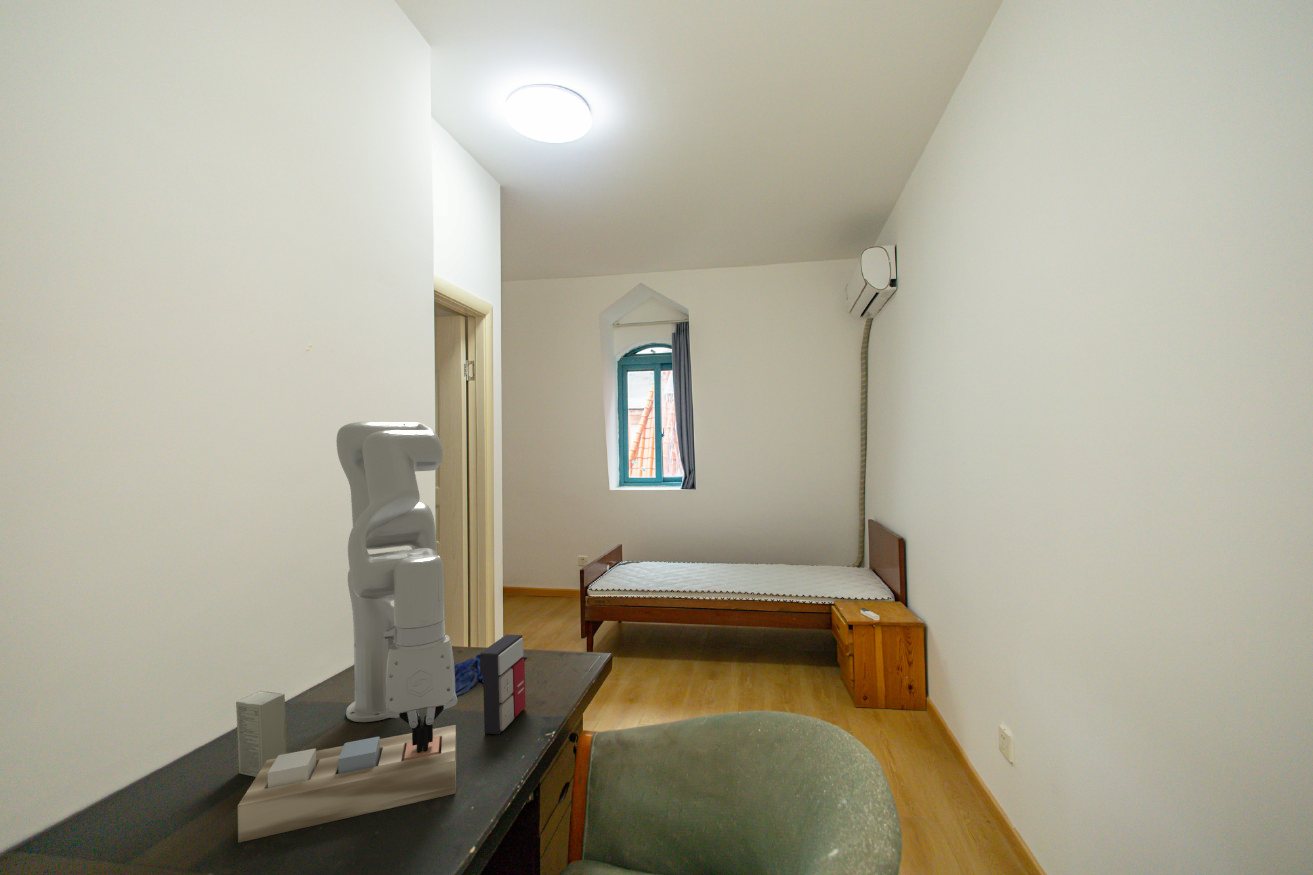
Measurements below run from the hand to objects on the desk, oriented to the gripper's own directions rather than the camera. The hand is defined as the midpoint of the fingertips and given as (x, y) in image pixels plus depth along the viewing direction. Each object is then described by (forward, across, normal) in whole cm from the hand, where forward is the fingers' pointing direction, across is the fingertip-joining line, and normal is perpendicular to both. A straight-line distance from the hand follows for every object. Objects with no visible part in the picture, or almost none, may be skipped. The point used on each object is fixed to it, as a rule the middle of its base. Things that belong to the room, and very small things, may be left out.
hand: (422, 747), depth 88 cm
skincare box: (+5, -26, +14) cm, 30 cm away
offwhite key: (+1, -18, 0) cm, 18 cm away
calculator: (+5, +14, +15) cm, 21 cm away
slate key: (+1, -9, 0) cm, 9 cm away
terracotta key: (+3, 0, 0) cm, 3 cm away
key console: (+5, -9, 0) cm, 10 cm away
